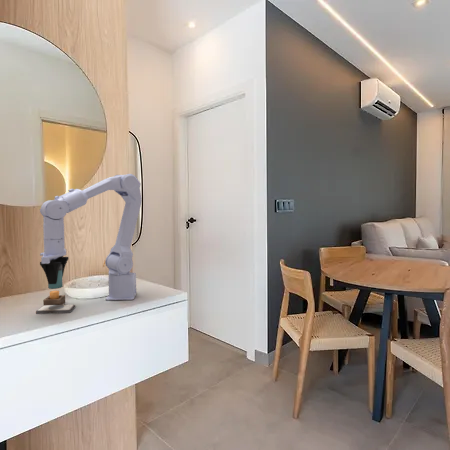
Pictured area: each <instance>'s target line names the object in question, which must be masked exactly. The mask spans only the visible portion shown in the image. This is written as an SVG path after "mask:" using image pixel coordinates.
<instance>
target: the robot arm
mask: <svg viewBox="0 0 450 450" xmlns="http://www.w3.org/2000/svg"><path fill="white" fill-rule="evenodd" d="M107 191H114V192H115V193H116V194H118V195H120V196H121V198H122V199H123V201H124V202H125V203H124V208H123V211H122V217H121V219H120V224H119V227H118V232H117V235H116V240H115V244H114V245H113V247H111V248H110V250H109V252H108V253H109V254H108V255H107V256H106V258H105V259H106V260H105V259H104V261H105V264H104V265H105V266H106V268H107V269H108V295H107V296H106V298H105V300H106V301H128V300H132V301H133V300H134V299H135V298H136V296H137V274H136V272H131V270H132V269H133V266H134V261H133V257H134V254H133V251H132V247H131V246H132V242H133V239H134V234H135V230H136V226H137V223H138V222H137V221H138V219H139V215H140V210H141V205H142V201H143V200H142V194H141V182H140V181H139V179H138V178H137V176H136V175H134V174H133V173H127V174H116V175H113V176H110V177H106V178H104V179H102V180H100V181H98V182H96V183H94V184H92V185H91V186H90V185H89V187H86V188H85V189H80V188H75V189H74V188H70V189H68V192H66V193H63V194H61V195H56V196H54V199H52V200H51V199H49V200H46V201H44V202H43V203H42V204H41V206H40V209H39V213H40V214H41V216H42V218H43V224H42V226H43V227H42V228H43V229H42V230H43V252H40V254H39V256H41V257H40V258H41V260H40V261H39V265H40V267H41V268H42V270H43V271H44V274H45V277H46V280H47V284H48V283H49V284H56V283H57V278H58V270H59V267H60V265H61V264H62V279H63V276H64V272H65V267H66V265H67V263H68V261H69V256H66V255H67V249H66V248H65V245H66V243H65V221H64V218H65V216H66V215H67V214H70V213H72V212H73V211H75V210H77V209H79V208H81V207H83V206H86V205H87V202H88V200H89V199H90V198H91V199H92V198H94V197H96V196H98V195H100V194H102V193H105V192H107Z"/></svg>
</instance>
